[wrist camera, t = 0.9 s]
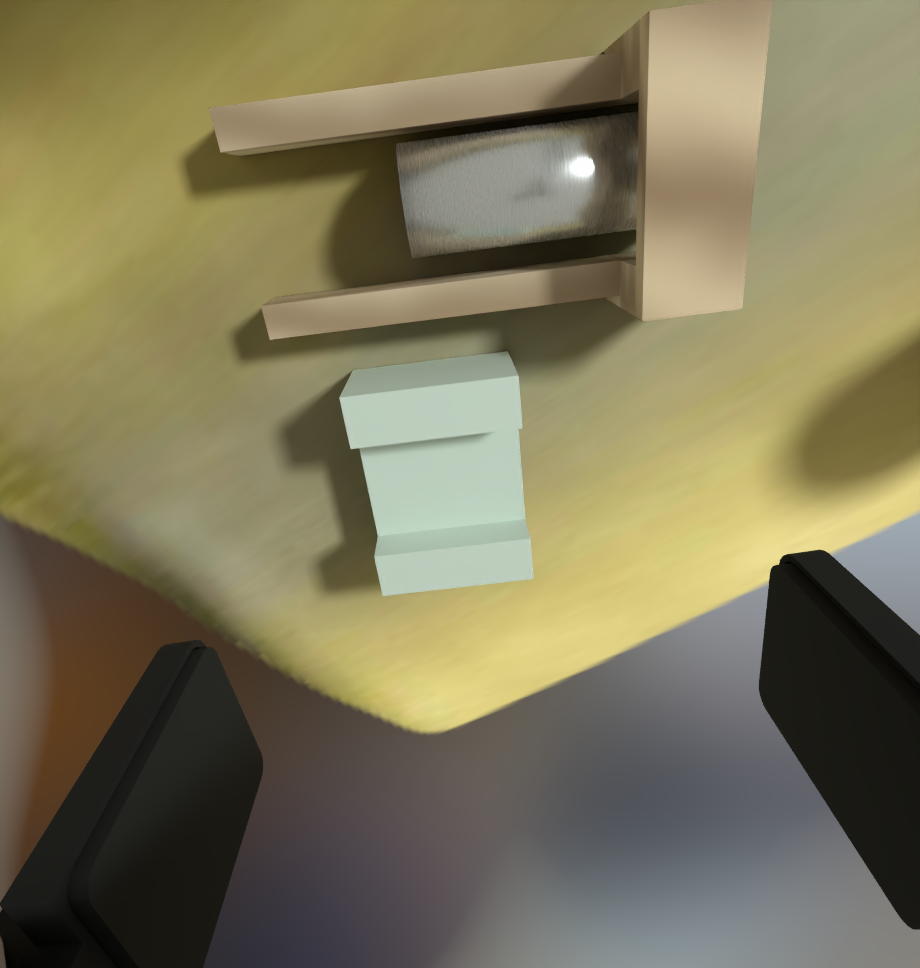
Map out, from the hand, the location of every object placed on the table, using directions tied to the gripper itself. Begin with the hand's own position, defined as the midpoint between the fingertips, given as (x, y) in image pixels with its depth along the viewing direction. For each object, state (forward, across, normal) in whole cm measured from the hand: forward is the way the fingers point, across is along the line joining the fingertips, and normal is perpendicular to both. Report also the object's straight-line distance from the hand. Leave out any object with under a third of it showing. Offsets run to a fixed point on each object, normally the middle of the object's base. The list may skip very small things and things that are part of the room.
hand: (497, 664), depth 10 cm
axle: (+22, -5, -7) cm, 24 cm away
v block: (+22, +2, +6) cm, 23 cm away
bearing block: (+22, -2, -7) cm, 23 cm away
